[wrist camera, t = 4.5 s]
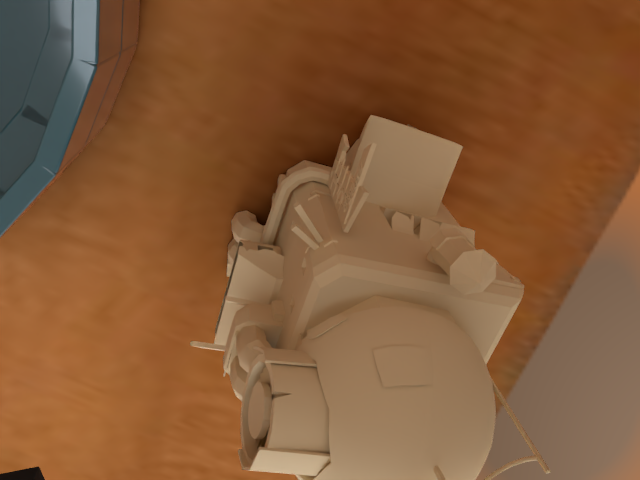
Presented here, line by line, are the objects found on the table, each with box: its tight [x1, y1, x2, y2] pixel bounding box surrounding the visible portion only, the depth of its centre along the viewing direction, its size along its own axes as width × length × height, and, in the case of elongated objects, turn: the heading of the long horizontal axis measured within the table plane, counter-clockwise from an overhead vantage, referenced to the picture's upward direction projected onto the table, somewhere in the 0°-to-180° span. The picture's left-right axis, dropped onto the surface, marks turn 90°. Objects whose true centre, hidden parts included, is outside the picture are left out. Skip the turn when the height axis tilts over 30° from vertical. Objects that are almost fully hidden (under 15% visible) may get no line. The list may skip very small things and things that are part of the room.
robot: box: [190, 115, 551, 480], centre depth 15 cm, size 10×8×15 cm
